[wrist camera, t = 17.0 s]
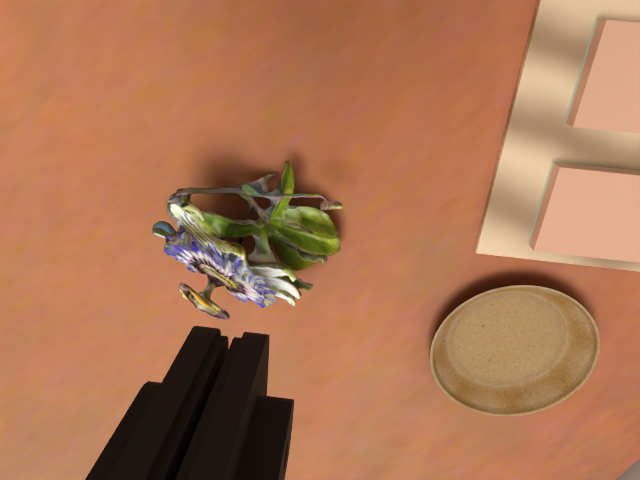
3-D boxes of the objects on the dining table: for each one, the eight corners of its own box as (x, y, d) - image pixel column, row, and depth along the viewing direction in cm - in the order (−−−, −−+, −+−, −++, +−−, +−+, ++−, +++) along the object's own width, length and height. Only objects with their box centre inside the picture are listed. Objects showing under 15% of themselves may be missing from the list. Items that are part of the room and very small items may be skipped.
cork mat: (540, -10, 32) (543, -10, 31) (748, 9, 31) (755, 9, 31) (474, 250, 40) (475, 253, 40) (637, 268, 40) (641, 271, 39)
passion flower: (248, 224, 48) (123, 262, 38) (283, 119, 41) (141, 132, 31) (332, 307, 43) (213, 375, 33) (388, 204, 36) (259, 251, 26)
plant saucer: (553, 409, 47) (563, 429, 45) (410, 384, 47) (413, 403, 45) (613, 286, 41) (629, 301, 38) (449, 258, 41) (454, 272, 39)
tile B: (560, 167, 34) (682, 180, 34) (552, 161, 36) (669, 174, 36) (533, 250, 37) (646, 263, 37) (527, 242, 39) (635, 254, 38)
